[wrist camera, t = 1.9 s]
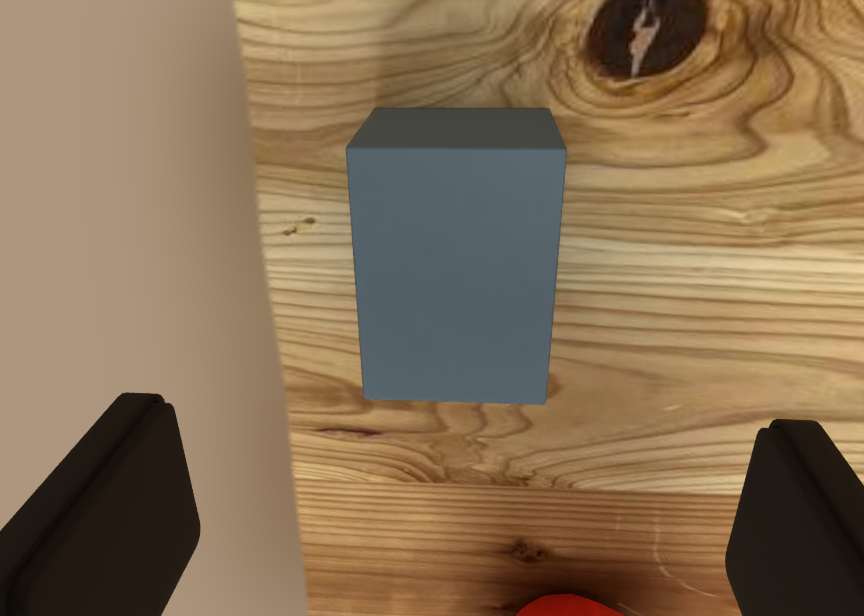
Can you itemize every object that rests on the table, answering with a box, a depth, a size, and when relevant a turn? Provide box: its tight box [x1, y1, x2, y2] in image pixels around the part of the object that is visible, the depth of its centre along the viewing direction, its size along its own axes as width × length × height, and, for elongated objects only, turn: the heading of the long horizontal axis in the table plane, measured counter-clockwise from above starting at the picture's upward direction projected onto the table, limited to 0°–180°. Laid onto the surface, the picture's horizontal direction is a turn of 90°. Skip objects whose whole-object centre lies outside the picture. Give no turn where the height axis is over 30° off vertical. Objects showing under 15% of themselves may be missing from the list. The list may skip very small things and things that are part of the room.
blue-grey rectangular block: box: [346, 108, 567, 405], centre depth 19 cm, size 7×5×4 cm
